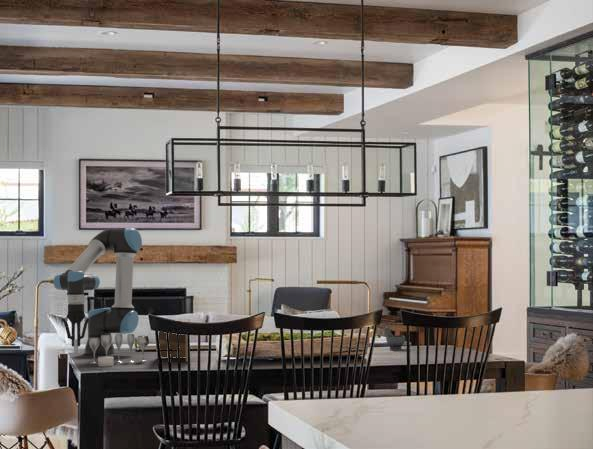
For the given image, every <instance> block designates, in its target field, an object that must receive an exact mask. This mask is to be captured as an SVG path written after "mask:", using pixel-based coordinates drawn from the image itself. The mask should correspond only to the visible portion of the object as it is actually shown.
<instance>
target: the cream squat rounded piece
mask: <svg viewBox="0 0 593 449" xmlns="http://www.w3.org/2000/svg"><path fill="white" fill-rule="evenodd" d="M114 359H115V358H114V356H110V355H107V356H106V355H103V356H98V357H97V362H98V363H97V366H98V367H112V365H113V366H114V364H115V361H114Z"/></svg>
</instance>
